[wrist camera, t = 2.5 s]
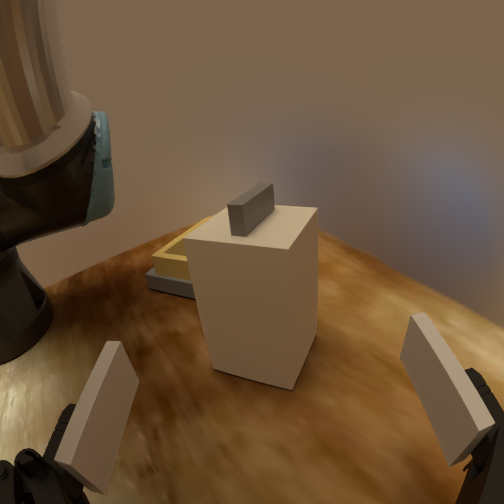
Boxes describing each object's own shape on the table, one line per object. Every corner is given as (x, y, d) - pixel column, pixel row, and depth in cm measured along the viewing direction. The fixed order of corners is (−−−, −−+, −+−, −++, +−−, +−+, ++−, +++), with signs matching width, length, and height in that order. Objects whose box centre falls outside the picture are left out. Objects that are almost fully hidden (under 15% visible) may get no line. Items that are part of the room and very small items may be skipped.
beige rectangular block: (212, 368, 25) (177, 208, 19) (247, 320, 30) (230, 179, 24) (292, 390, 22) (286, 214, 16) (316, 333, 28) (317, 181, 21)
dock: (148, 287, 37) (139, 256, 35) (205, 241, 49) (201, 214, 47) (267, 313, 31) (264, 275, 29) (305, 252, 42) (304, 221, 40)
